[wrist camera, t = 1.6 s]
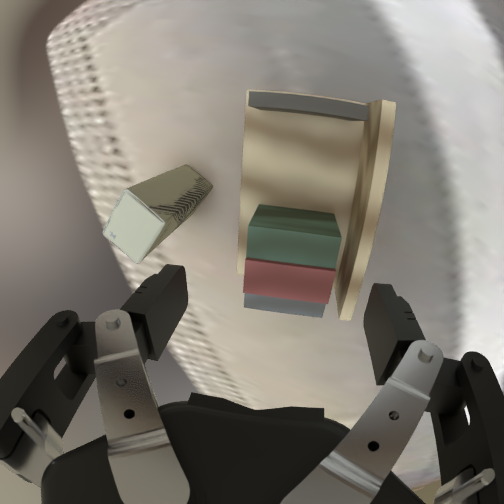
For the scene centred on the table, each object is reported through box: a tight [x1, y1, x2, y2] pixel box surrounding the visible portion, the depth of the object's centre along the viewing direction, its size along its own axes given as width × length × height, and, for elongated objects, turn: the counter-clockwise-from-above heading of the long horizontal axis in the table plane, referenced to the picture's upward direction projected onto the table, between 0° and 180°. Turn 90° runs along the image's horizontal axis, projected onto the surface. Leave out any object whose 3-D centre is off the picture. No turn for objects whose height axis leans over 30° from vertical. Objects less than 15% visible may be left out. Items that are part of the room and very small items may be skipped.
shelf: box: [237, 90, 396, 321], centre depth 26 cm, size 21×13×8 cm, turn 176°
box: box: [103, 165, 213, 264], centre depth 26 cm, size 5×4×13 cm
